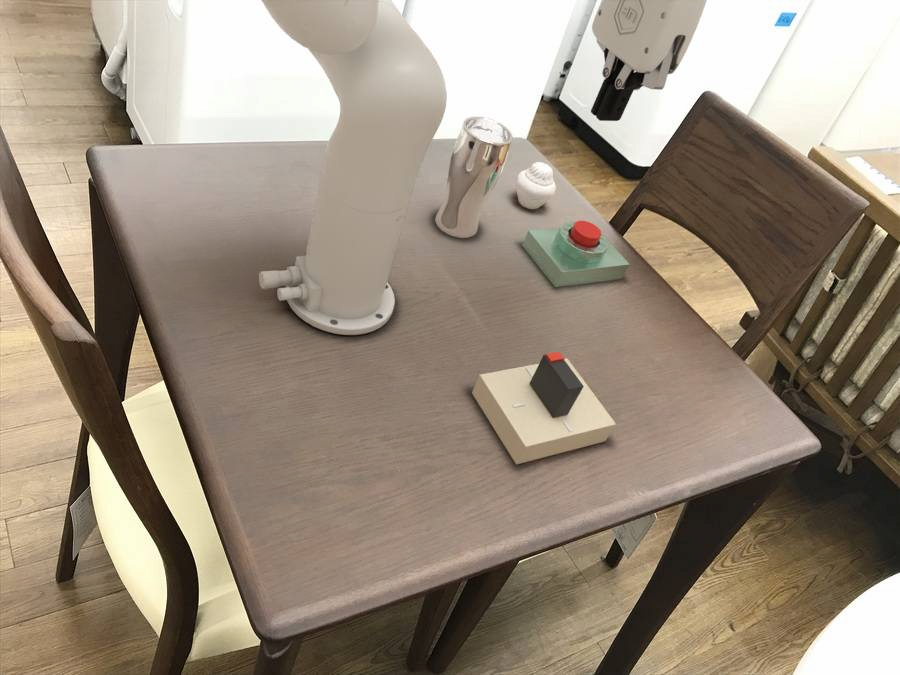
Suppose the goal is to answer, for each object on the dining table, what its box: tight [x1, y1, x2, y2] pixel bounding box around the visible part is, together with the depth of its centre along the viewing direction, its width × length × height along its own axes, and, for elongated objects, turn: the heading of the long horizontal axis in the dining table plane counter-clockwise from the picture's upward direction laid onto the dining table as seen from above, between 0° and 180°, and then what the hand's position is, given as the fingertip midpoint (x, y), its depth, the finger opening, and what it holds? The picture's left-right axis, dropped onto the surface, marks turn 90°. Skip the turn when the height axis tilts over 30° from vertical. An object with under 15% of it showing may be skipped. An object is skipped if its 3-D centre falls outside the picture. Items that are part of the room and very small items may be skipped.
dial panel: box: [471, 358, 617, 465], centre depth 83 cm, size 12×10×3 cm
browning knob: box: [530, 351, 584, 418], centre depth 80 cm, size 5×2×5 cm, turn 27°
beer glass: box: [434, 116, 513, 239], centre depth 102 cm, size 7×7×15 cm
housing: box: [521, 221, 630, 288], centre depth 107 cm, size 12×9×4 cm
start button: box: [570, 220, 602, 248], centre depth 105 cm, size 4×4×2 cm
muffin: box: [515, 161, 557, 210], centre depth 114 cm, size 6×6×7 cm
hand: (604, 116), depth 85 cm, fingers closed
